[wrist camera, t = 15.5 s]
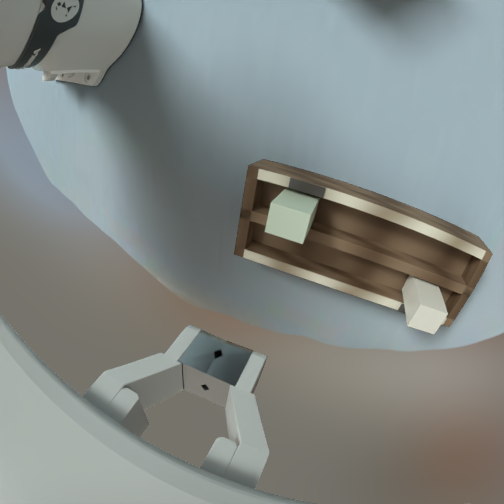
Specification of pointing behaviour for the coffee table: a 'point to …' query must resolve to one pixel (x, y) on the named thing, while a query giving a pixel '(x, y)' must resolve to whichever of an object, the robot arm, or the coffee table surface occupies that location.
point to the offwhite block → (423, 304)
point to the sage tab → (292, 215)
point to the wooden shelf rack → (359, 240)
